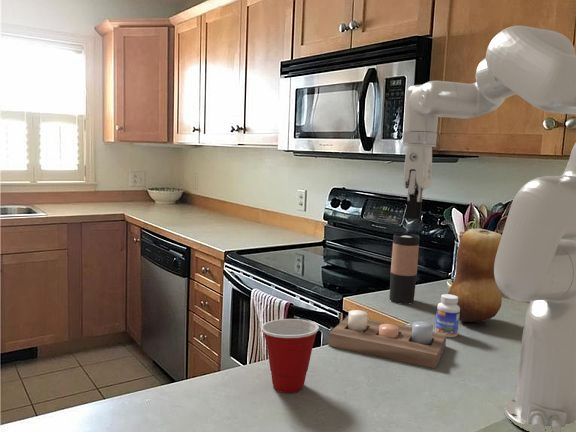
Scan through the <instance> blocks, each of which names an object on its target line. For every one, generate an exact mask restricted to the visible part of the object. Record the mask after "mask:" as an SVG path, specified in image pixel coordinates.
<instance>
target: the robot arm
mask: <svg viewBox="0 0 576 432" xmlns="http://www.w3.org/2000/svg"><path fill="white" fill-rule="evenodd" d="M575 52H576V51H575V47H574V44H573V43H572V41H571V40H570V39H569V38H568V37H567V36H566V35H564V34H563V33H561V32H558V31H555V30H550V29H543V28H537V27H533V26H527V25H512V26H509V27H506V28H504V29H502V30H501V31H499V32H498V33H497V34H496V35H495V36H494V37H492V39H491V41H490V42H489V44H488V46H487V48H486V52H485V58H483V59H482V60H481V61H480V62H479V63H478V65H477V67H476V71H475V82H473V83H465V82H456V81H446V80H445V81H443V80H430V81H427V82H425V83H423V84H415V85H411V86H409V87H408V88H407V90H406V93H405V94H406V95H405V107H404V121H403V132H402V133H403V134H402V135H403V136H402V146H403V147H404V146H405V147H406V150H405V156H404V157H405V159H404V168H403V187H404V188H405V189H406V190H407V201H406V212H405V218H406V219H412V220H420V219H421V218H422V208H423V207H422V206H423V196H424V195H423V193H424V192H423V191H424V190H428V189H430V188H431V186H432V169H433V168H432V167H433V148H436V147H437V139H438V138H437V135H438V124H439V118H453V119H455V118H456V119H472V118H476V117H479V116H482V115H486V114H488V113H491V112H494V111H496V110H497V109H498V108H500V106H501V105H502V104H503V103H504V102H505V100H506V99H507V98H509V97H513V96H514V95H517V96H519V97H520V98H521V99H523V100H524V101H526V102H527V103H528V104H530V105H531V106H533V107H535V108H536V109H539V110H540V111H543V112H546V113H547V112H548V113H553V114H564V115H565V114H566V115H574V116H576V53H575ZM432 147H433V148H432ZM566 164H567V165H566V167H565V169H564V171H563V173H562V174H561V175H544V176H538V177H535V178H534V179H531V180H528V182H526V183H525V184H524V185H523V186H522V187H521V188H520V189H519V190H518V192H517V193H516V194H515V195H514V198H513V200H512V202H511V205H510V208H509V211H508V213H507V218H506V220H505V224H504V227H503V230H502V234H501V235H502V237H501V240H500V243H499V247H498V250H497V254H496V258H495V263H494V277H495V281H496V284H497V286H498V288H499V290H500V291H501V294H503V295H504V296H505V297H506V298H509V299H511V300H513V301H517V302H529V304H528V306H527V309H526V312H525V316H524V322H523V328H522V329H523V331H522V336H521V337H522V339H521V346H520V353H519V354H520V356H519V365H518V373H517V383H516V389H515V391H516V393H515V397H513V398H511V399H509V400H508V401H506V403H505V404H504V415H505V417H506V418H507V419H508V420H509V419H510V420H512V421H515V422H517V423H521V424H525V423H526V422H527V424H532V430H533V432H545V431H546V429H545V426H551V429H552V432H561V427H565V425H566V424H570V423H573V422H574V421H575V420H576V239H575V240H574V239H573V238H576V142H575V143H574V144H573V147H572V149H571V152H570V155H569V159H568V162H567V163H566ZM571 238H572V239H571ZM510 420H509V421H510Z"/></svg>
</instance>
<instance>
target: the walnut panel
mask: <svg viewBox="0 0 576 432" xmlns="http://www.w3.org/2000/svg"><path fill="white" fill-rule="evenodd" d="M348 317H349V315H347V316H346V317H345V318H344V319H343V320H342V321H340V323H338V324H337V325H336V326H335V327H334V328H333V329H332V330H331V331H329V332H328V346H329V347H333V348H339V349H342V350H348V351H353V352H355V353H356V352H358V353H362V354H366V355H371V356H376V357H379V358H380V357H381V358H384V359H390V360H394V361H399V362H403V363H409V364H414V365H419V366H422V367H427V368H432V369H437V367H438V364H439V362H440V360H441V358H442V355H443V353H444V351H445V348H446V346H447V345H446V344H447V337H446V335H447V334H445V333H440V332H435V330H433V331H432V343H431V345H425V344H420V343H414V342H412V341H411V338H412V326H406V325H400V324H394V323H392V322H383V321H378V320H374V319H370V318H369V319H368V318H367V330H366V332H358V331H353V330H348ZM381 324H392V325H396V326H397V327H399V332H398V338H397V339H394V338H389V337H384V336H379V326H380V325H381Z"/></svg>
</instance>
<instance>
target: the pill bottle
mask: <svg viewBox="0 0 576 432" xmlns="http://www.w3.org/2000/svg"><path fill="white" fill-rule="evenodd" d="M457 303H458V297H457V296H455V295H451V294H448V293H444V294H441V297H440V302H438V304H437V308H436V317H435V325H434V326H435V327H434V328H435V329H434V332H440V333H445V334H447V335H446V338H455V337H457V336H458V331H459V324H460V318H459V315H460V307H459V306H458V305H457Z"/></svg>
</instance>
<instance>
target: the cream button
mask: <svg viewBox="0 0 576 432" xmlns="http://www.w3.org/2000/svg"><path fill="white" fill-rule="evenodd" d="M348 316H349V317H348V330H353V331H358V332H366V330H367V319H368V312H366V311H364V310H359V309H354V310H353V309H352V310H350V311H348Z"/></svg>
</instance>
